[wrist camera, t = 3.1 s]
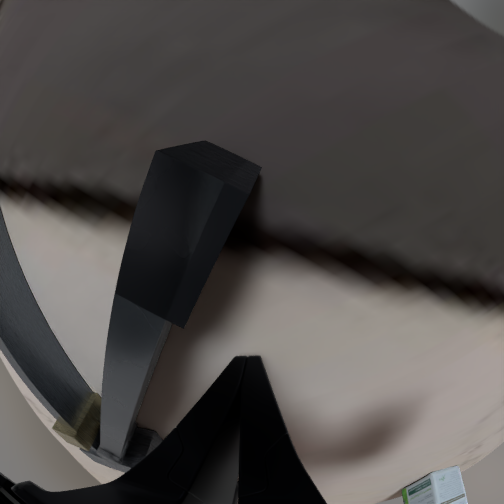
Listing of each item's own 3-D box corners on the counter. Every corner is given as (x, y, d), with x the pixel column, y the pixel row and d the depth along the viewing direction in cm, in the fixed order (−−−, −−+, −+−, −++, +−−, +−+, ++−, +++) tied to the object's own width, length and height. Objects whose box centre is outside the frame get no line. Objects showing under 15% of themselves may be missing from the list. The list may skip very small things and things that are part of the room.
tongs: (166, 444, 15) (153, 485, 12) (108, 430, 16) (93, 465, 12) (20, 131, 7) (-52, 151, 4) (-27, 170, 8) (-78, 193, 4)
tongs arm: (138, 430, 14) (123, 468, 11) (113, 418, 14) (96, 455, 11) (262, 167, 7) (247, 197, 4) (198, 137, 7) (139, 147, 4)
